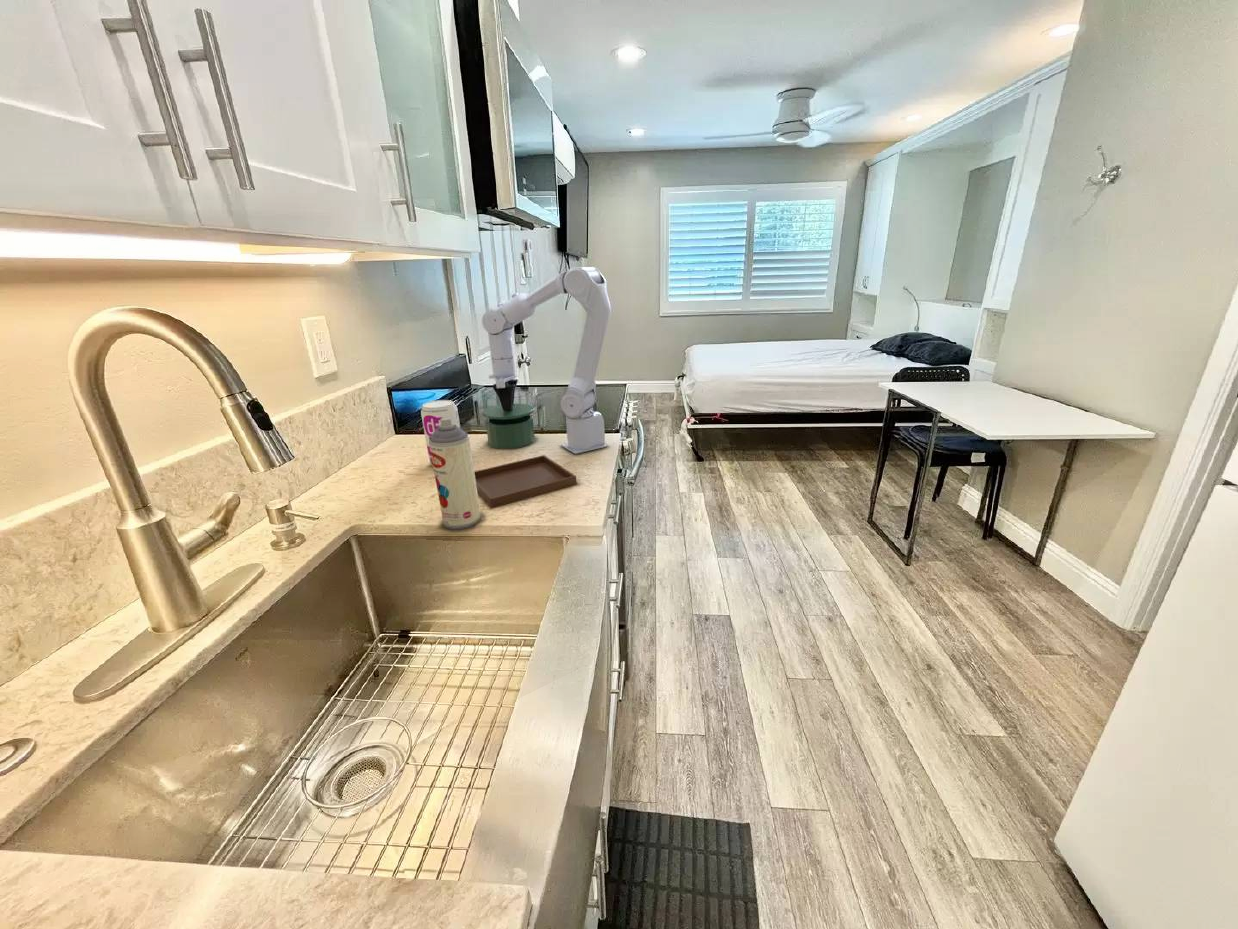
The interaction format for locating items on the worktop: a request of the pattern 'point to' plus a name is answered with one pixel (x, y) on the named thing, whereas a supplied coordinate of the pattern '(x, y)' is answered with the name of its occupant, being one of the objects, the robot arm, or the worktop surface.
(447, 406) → the supplement can
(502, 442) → the tin
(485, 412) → the tin lid
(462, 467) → the aerosol can
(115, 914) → the worktop surface
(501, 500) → the tray
